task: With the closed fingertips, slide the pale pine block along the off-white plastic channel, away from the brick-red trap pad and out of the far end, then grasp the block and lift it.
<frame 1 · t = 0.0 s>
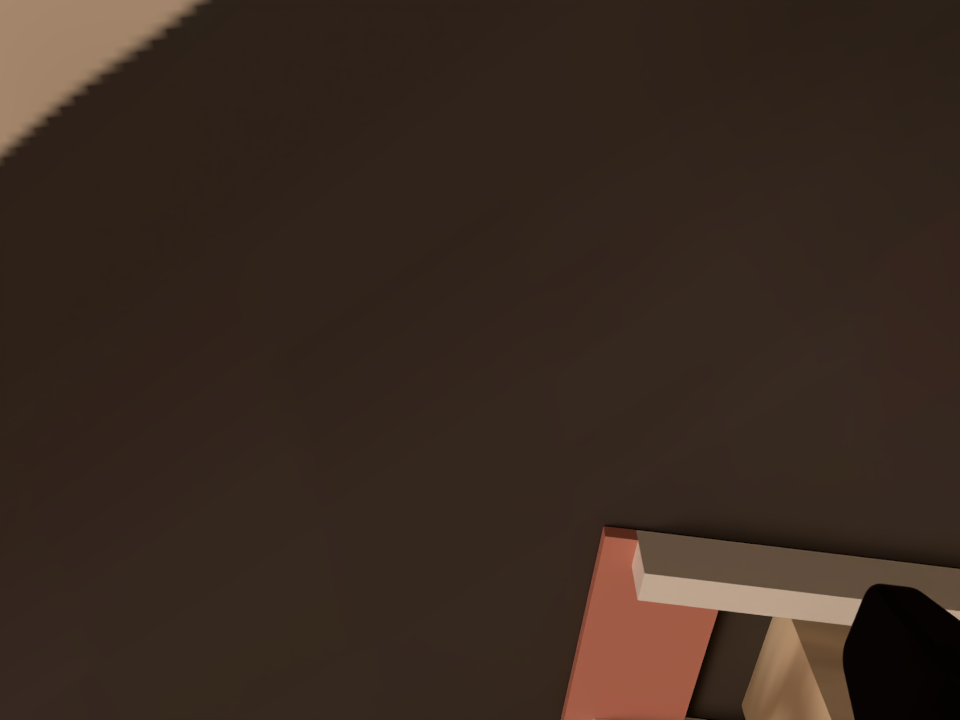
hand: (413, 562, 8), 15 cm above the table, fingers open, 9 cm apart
pine block: (834, 658, 28), on the table
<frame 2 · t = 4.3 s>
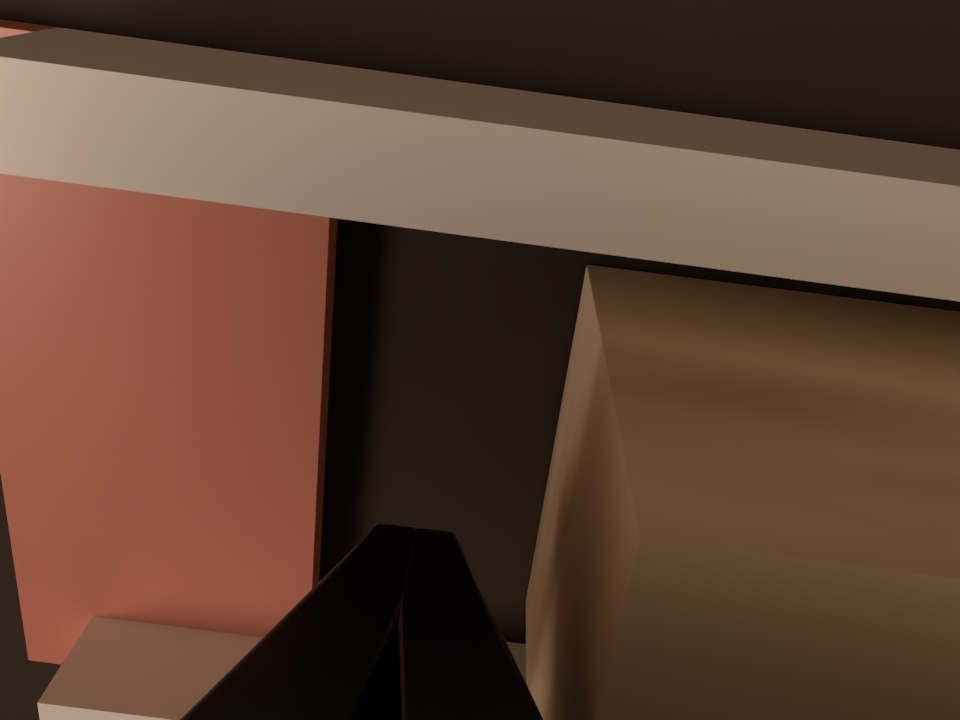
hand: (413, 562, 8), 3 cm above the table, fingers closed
pine block: (747, 473, 11), on the table, touching gripper
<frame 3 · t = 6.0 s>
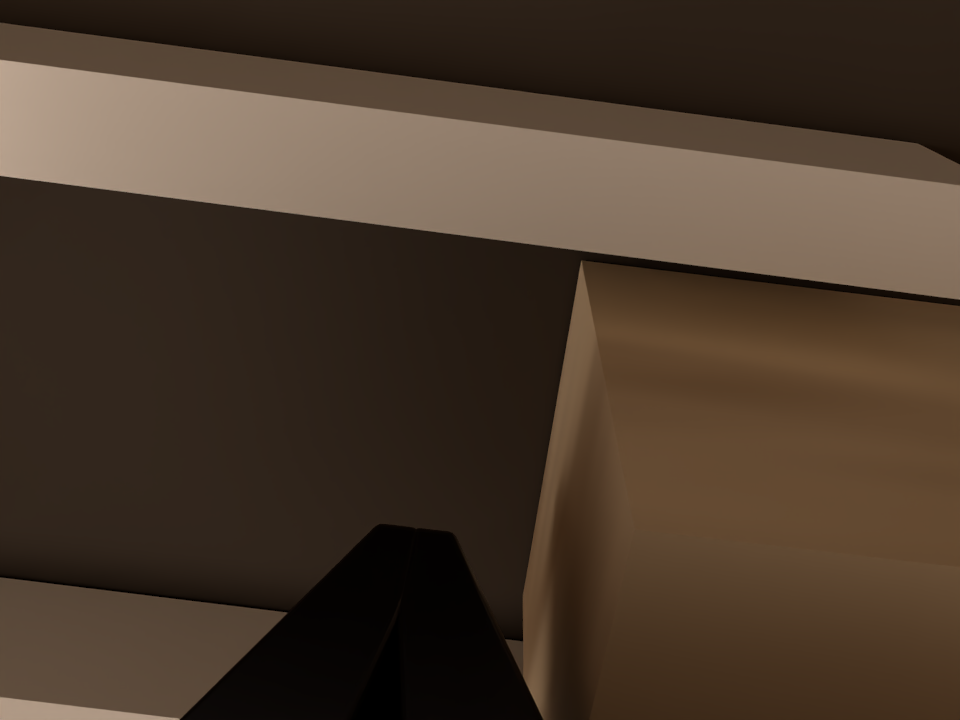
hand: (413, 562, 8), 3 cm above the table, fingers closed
pine block: (743, 468, 11), on the table, touching gripper
channel: (258, 411, 11), on the table
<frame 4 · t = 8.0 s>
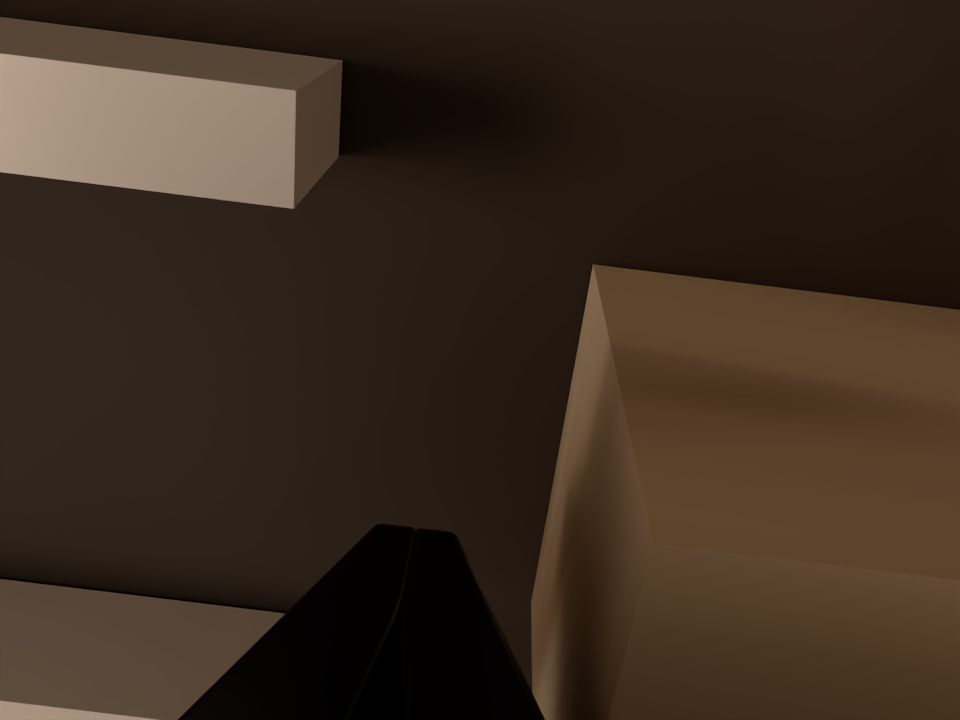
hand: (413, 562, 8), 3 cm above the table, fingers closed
pine block: (754, 474, 11), on the table, touching gripper
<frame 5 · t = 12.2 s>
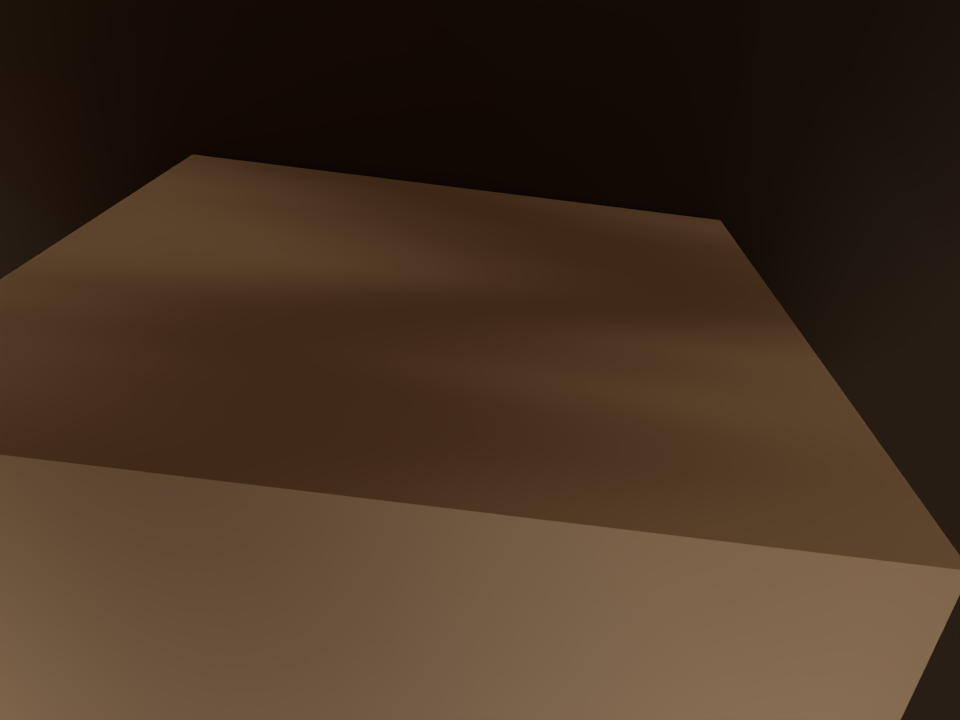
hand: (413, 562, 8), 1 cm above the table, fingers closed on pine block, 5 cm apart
pine block: (433, 416, 9), on the table, touching gripper
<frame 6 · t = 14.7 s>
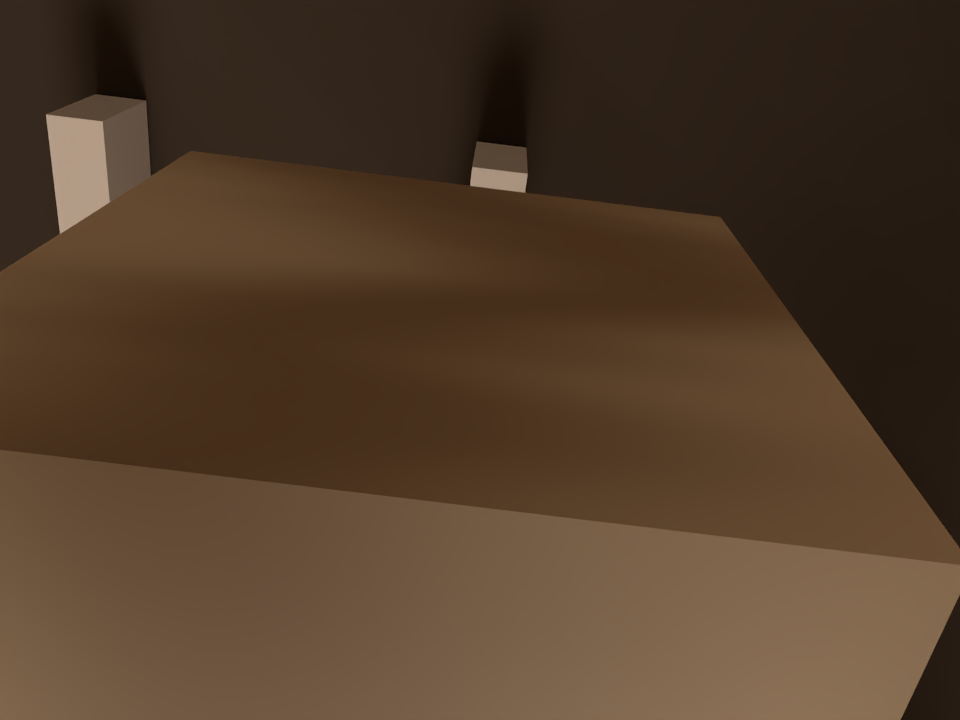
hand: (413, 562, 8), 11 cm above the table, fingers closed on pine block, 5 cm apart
pine block: (432, 413, 9), point 9 cm above the table, touching gripper
channel: (305, 419, 20), on the table
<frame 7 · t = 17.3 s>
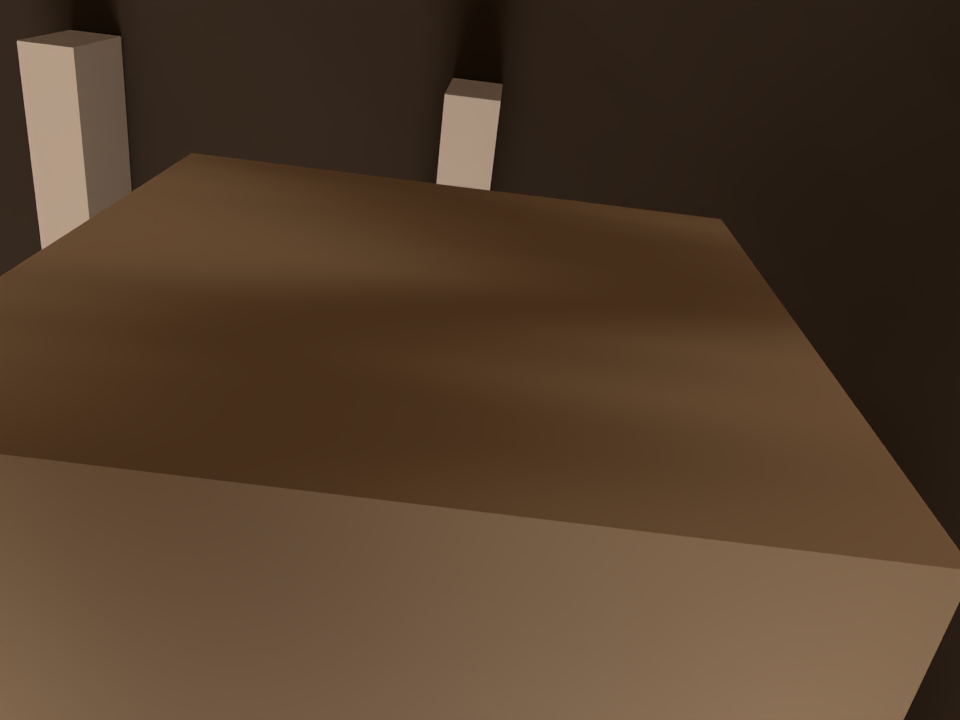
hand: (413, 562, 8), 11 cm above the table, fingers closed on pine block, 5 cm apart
pine block: (433, 415, 9), point 10 cm above the table, touching gripper
channel: (283, 369, 20), on the table
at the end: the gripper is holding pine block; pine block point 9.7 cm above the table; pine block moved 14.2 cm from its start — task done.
